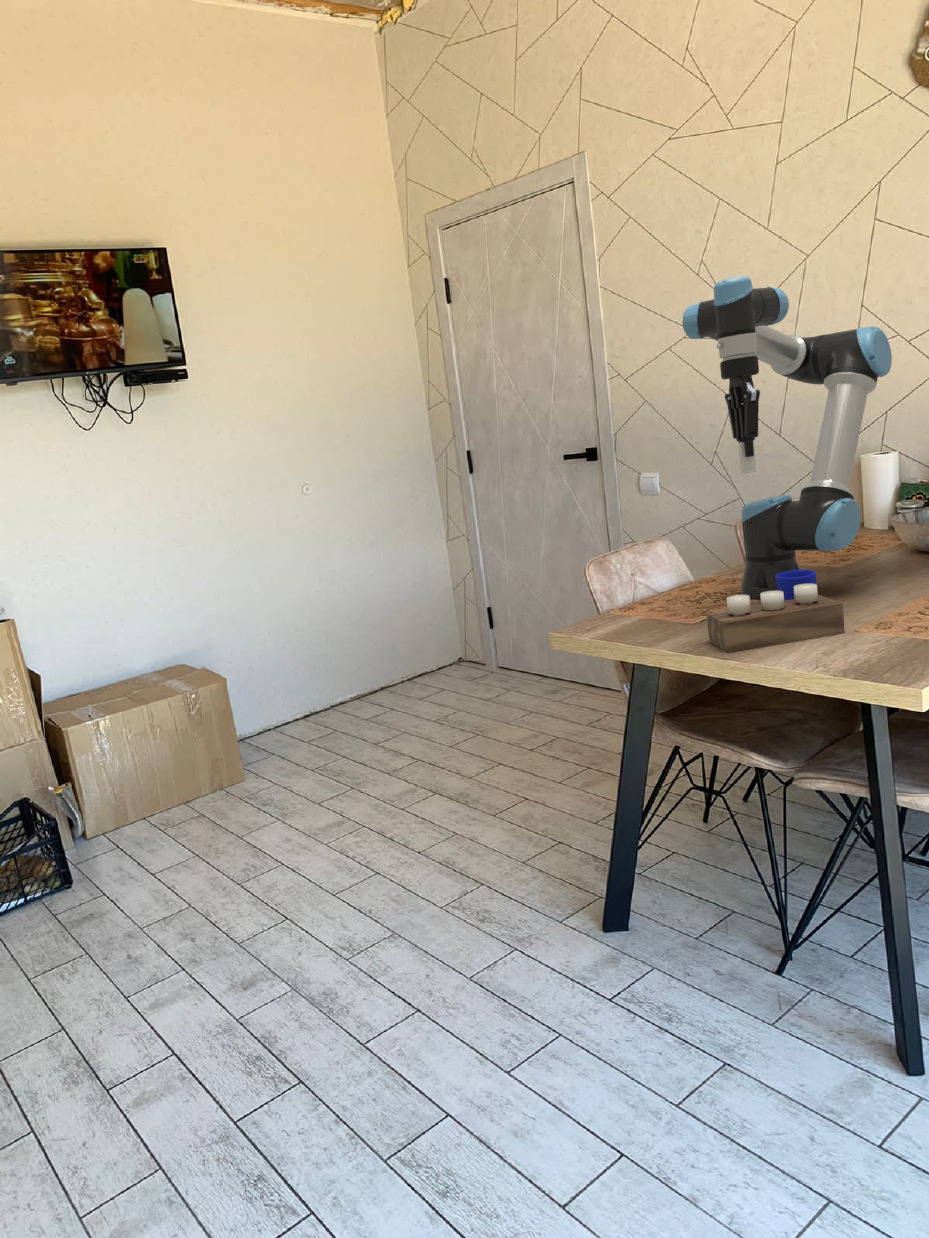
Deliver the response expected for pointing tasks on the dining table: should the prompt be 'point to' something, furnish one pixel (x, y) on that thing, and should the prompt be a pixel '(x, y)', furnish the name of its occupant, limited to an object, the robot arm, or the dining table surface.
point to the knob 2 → (772, 600)
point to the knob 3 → (805, 593)
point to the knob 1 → (738, 605)
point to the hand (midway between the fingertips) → (748, 472)
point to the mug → (793, 581)
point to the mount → (775, 624)
